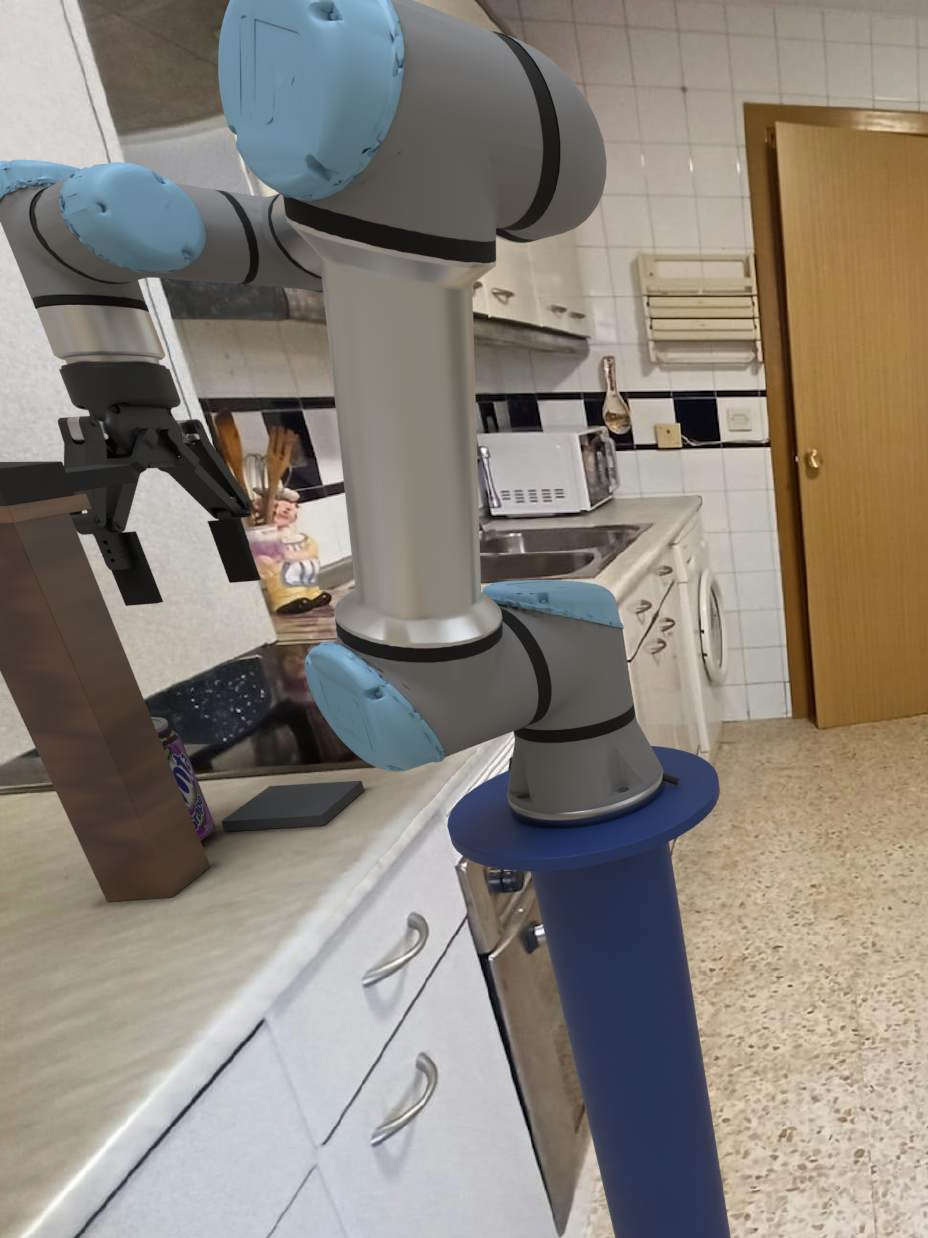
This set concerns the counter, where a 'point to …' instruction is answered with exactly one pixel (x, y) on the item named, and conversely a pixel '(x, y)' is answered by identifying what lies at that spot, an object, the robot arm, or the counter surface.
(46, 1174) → the counter surface
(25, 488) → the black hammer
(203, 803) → the beverage can
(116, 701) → the stand
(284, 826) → the base pad
